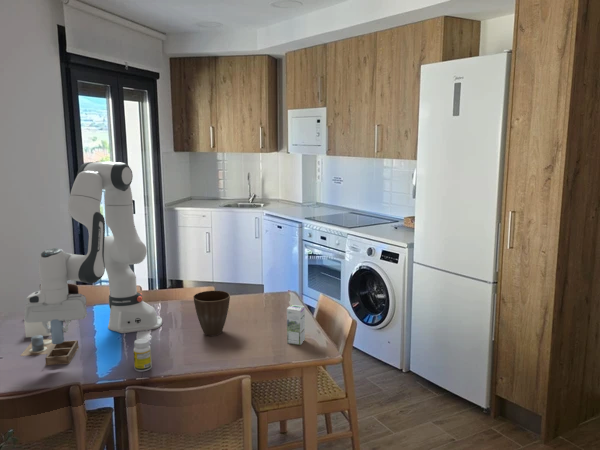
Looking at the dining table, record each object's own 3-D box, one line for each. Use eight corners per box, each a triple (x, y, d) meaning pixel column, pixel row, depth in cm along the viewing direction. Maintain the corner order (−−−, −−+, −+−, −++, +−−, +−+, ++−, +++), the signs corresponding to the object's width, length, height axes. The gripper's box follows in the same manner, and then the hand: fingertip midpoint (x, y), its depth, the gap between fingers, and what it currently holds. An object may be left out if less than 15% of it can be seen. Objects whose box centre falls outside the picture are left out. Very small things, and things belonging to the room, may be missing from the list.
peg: (65, 339, 190) (63, 315, 188) (62, 343, 186) (60, 319, 184) (53, 340, 189) (51, 316, 187) (50, 344, 185) (48, 320, 184)
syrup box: (305, 340, 208) (305, 305, 206) (300, 345, 203) (300, 309, 200) (291, 338, 210) (291, 303, 208) (286, 343, 205) (286, 308, 202)
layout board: (60, 340, 210) (59, 325, 209) (49, 356, 194) (47, 340, 193) (33, 341, 208) (32, 327, 207) (20, 358, 192) (18, 342, 191)
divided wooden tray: (79, 349, 201) (78, 340, 200) (69, 365, 186) (68, 356, 185) (56, 350, 199) (56, 341, 198) (45, 367, 184) (44, 357, 184)
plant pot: (238, 332, 217) (237, 295, 215) (209, 342, 207) (208, 303, 204) (216, 323, 228) (215, 288, 225) (187, 333, 217) (186, 296, 214)
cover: (59, 325, 227) (57, 299, 225) (49, 337, 212) (47, 310, 210) (37, 326, 225) (34, 300, 223) (26, 339, 211) (23, 312, 209)
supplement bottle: (136, 365, 186) (135, 337, 184) (153, 364, 186) (151, 337, 185) (132, 372, 180) (131, 344, 179) (149, 371, 181) (148, 343, 179)
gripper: (87, 290, 190) (89, 327, 192) (26, 293, 186) (29, 331, 188) (83, 295, 184) (86, 333, 186) (21, 299, 180) (24, 337, 182)
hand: (57, 332), depth 187 cm, fingers closed on peg, 4 cm apart
